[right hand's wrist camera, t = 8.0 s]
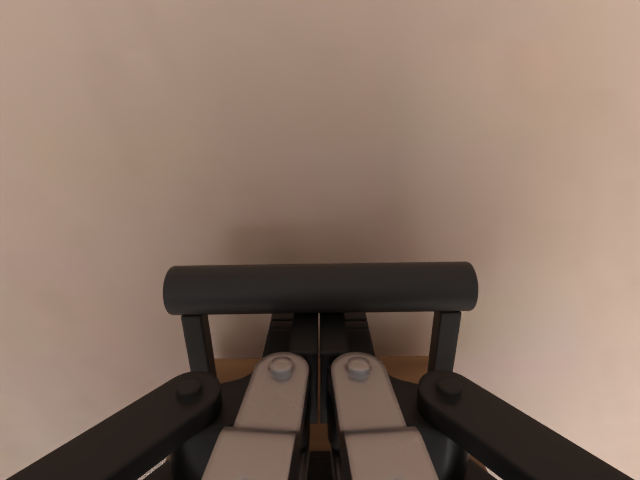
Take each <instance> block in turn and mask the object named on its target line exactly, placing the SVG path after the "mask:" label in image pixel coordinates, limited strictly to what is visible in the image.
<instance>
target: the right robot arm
mask: <svg viewBox="0 0 640 480" xmlns="http://www.w3.org/2000/svg"><path fill="white" fill-rule="evenodd" d="M310 423H318V313H279V314H272V318H271V322H270V327H269V331H268V335H267V340H266V344H265V349H264V353H263V357H262V359H261V360H260V361H259V362H258V363H257V364H256V366H255V368H254V371H253V372H252V373H250V374H249V375H247V376H245V377H243V378H240V379H237V380H234V381H230V382H225V383H221V384H220V382H219V380H218V378H217V377H216V376H215V375H213V374H211V373H209V372H205V371H193V372H187V373H184V374H181V375H179V376H177V377H175V378H173V379H171V380H170V381H168V382H166V383H165V384H163V385H162V386H160V387H158V388H157V389H155V390H153V391H152V392H150V393H148V394H147V395H145V396H143V397H142V398H140V399H138V400H137V401H135V402H133V403H132V404H130V405H128V406H127V407H125V408H123V409H122V410H120V411H119V412H117V413H115V414H114V415H112V416H110V417H109V418H107V419H105V420H104V421H102V422H100V423H99V424H97V425H95V426H94V427H92V428H90V429H89V430H87V431H85V432H84V433H82V434H81V435H79V436H77V437H76V438H74V439H72V440H71V441H69V442H67V443H66V444H64V445H62V446H61V447H59V448H57V449H56V450H54V451H52V452H51V453H49V454H47V455H46V456H44V457H43V458H41V459H39V460H38V461H36V462H34V463H33V464H31V465H29V466H28V467H26V468H24V469H23V470H21V471H19V472H18V473H16V474H14V475H13V476H11V477H9V478H8V479H6V480H137V479H138V478H140V477H141V476H142V475H144V474H145V473H146V472H148V471H149V470H150V469H151V468H153V467H154V466H155V465H157V464H158V463H159V462H161V461H162V460H163V459H164V458H166V457H167V456H168V458H169V460H167V461H166V462H165V463H164V464H162V465H161V466H160V467H158V468H157V469H156V470H155V471H153V472H152V473H151V474H149V475H148V476H147V477H146V478H144V479H143V480H307V473H308V464H309V456H310ZM320 424H327V427H328V440H329V443H330V455H331V464H332V473H333V480H497V479H496V478H494V477H493V476H492V475H491V474H489V473H488V472H487V471H485V470H484V469H483V468H482V467H480V466H479V465H478V464H476V463H475V462H474V461H473V460H471V459H470V458H469V454H470V455H472V456H473V457H474V458H476V459H477V460H478V461H479V462H481V463H482V464H483V465H485V466H486V467H487V468H489V469H490V470H491V471H492V472H494V473H495V474H496V475H498V476H499V477H500V478H502V479H503V480H634V479H632V478H631V477H629V476H627V475H626V474H624V473H622V472H621V471H619V470H617V469H616V468H614V467H612V466H611V465H609V464H607V463H606V462H604V461H602V460H601V459H599V458H597V457H596V456H594V455H593V454H591V453H589V452H588V451H586V450H584V449H583V448H581V447H579V446H578V445H576V444H574V443H573V442H571V441H569V440H568V439H566V438H564V437H563V436H561V435H559V434H558V433H556V432H555V431H553V430H551V429H550V428H548V427H546V426H545V425H543V424H541V423H540V422H538V421H536V420H535V419H533V418H531V417H530V416H528V415H526V414H525V413H523V412H521V411H520V410H518V409H516V408H515V407H513V406H512V405H510V404H508V403H507V402H505V401H503V400H502V399H500V398H498V397H497V396H495V395H493V394H492V393H490V392H488V391H487V390H485V389H483V388H482V387H480V386H478V385H477V384H475V383H474V382H472V381H470V380H469V379H467V378H465V377H463V376H462V375H459V374H457V373H454V372H450V371H445V370H435V371H430V372H428V373H426V374H424V375H423V376H422V377H421V378H420V380H419V384H416V383H411V382H407V381H403V380H400V379H397V378H394V377H392V376H390V375H388V374H387V371H386V368H385V366H384V364H383V363H382V362H381V361H380V360H379V359H378V358H376V357H375V354H374V350H373V345H372V341H371V336H370V332H369V327H368V322H367V318H366V313H365V312H351V313H320Z"/></svg>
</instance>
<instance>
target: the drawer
mask: <svg viewBox="0 0 640 480" xmlns="http://www.w3.org/2000/svg"><path fill="white" fill-rule="evenodd" d="M477 299H478V281H477V276H476V273H475V270H474V268H473V266H472V265H471V264H470V263H468V262H412V263H342V264H273V265H203V266H173V267H171V268H170V269H169V270H168V272H167V274H166V276H165V280H164V285H163V300H164V305H165V308H166V310H167V312H168V313H169V314H171V315H182V316H181V320H182V326H183V331H184V337H185V342H186V347H187V353H188V358H189V364H190V369H191V372H193V371H205V372H209V373H211V374H213V375H215V376H216V377H217V378H218V380H219V382H220V384H221V383H225V382H230V381H234V380H237V379H240V378H243V377H245V376H247V375H249V374H250V373H252V372H253V371H254V368H255V366H256V364H257V363H258V362H259V361H260V360H261V359H262V358H243V359H214V354H213V348H212V341H211V335H210V328H209V321H208V315H207V314H279V313H351V312H424V311H434V319H433V327H432V336H431V344H430V353H429V356H394V357H376V358H378V359H379V360H380V361H381V362H382V363H383V364H384V366H385V368H386V371H387V374H388V375H390V376H392V377H394V378H397V379H400V380H403V381H407V382H411V383H416V384H419V380H420V378H421V377H422V376H423V375H424V374H426V373H428V372H430V371H435V370H445V371H450V372H453V366H454V359H455V353H456V346H457V339H458V333H459V326H460V319H461V312H460V311H470V310H472V309H474V307H475V306H476V303H477ZM469 458H470V459H471V460H473V461H474V462H475V463H476V464H478V465H479V466H480V467H482V468H483V469H484V470H485V471H487V470H486V468H485V465H483V464H482V463H481V462H479V461H478V460H477V459H476V458H474V457H473V456H472V455H470V454H469ZM167 460H169V458H168V457H167V459H166V461H167ZM166 461H165V462H166ZM307 480H333V473H332V464H331V455H330V443H329V440H328V427H327V424H320V357H319V358H318V423H310V456H309V464H308V473H307Z"/></svg>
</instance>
